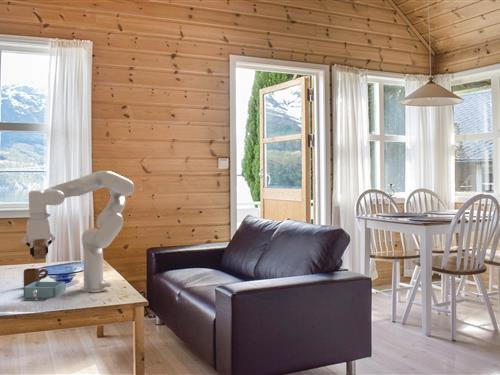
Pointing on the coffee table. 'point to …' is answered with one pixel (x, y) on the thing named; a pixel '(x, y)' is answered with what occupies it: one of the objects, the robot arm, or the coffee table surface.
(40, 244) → the brown cylinder
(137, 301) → the coffee table surface
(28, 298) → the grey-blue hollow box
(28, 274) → the mug
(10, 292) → the coffee table surface
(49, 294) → the bin
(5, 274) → the coffee table surface
